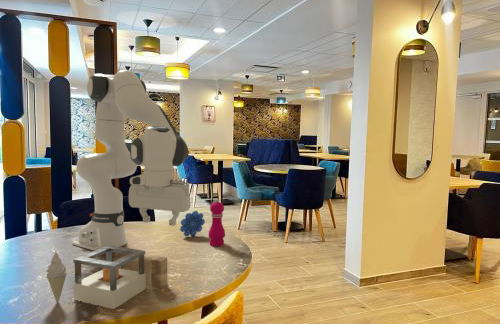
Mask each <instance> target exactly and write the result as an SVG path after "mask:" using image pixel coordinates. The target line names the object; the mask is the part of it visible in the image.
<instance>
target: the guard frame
mask: <svg viewBox="0 0 500 324" xmlns="http://www.w3.org/2000/svg"><path fill="white" fill-rule="evenodd" d="M113 253H116V254H120V255H121V254H123V255H124V256H122V257H120V258H119V259H116V260H113V257H112V254H113ZM102 255H105V260H102V259H96V258H98V257H100V256H102ZM145 255H146V250H142V249H138V248H137V249H136V248H130V247H123V246H120V247H117V246H110V245H108V246H105V247H103V248H100V249H98V250H92V251H91V252H88V253H86V254H83V255H81V256H78V257H76V258H73V259H72V260H73V264H74V283H77V284H79V283H81V282H82V279H83V278H82V265H83V266H89V267H95V268H101V269H103V268H105V269H110V290H111V291H115V290H116V289H117V275H116V268H118V267H119V268H120V267H122V266H124V265H126V264H128V263H130V262H132V261H134V260H136V259H138V272H139V274H144V273H145ZM112 260H113V261H112Z"/></svg>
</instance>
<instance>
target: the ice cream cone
mask: <svg viewBox="0 0 500 324" xmlns="http://www.w3.org/2000/svg"><path fill="white" fill-rule="evenodd" d="M45 272H46V278H47V280H48V283H49V286H50V288H51V291H52V294H53V297H54V300H55V302H59V303H60V300H61V297H62V296H61V295H62V292H63V289H64V284H65V281H66V278H67V274H68V273H67V267H66V265H65V264H64V263H63V262H62V259H61V258H60V256H59V255H58V252H57V250H55V252H54V254H53V257H52V259H51V261H50V264H49V265H48V266H47V269H46V271H45Z"/></svg>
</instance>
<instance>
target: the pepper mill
mask: <svg viewBox="0 0 500 324" xmlns="http://www.w3.org/2000/svg"><path fill="white" fill-rule="evenodd" d="M214 201H215V202H211V205H210V206H209V210H210V212H211V213H210V215H211V216H210V217H211V221H212V222H211V226H210V227H209V231H208V238H209V246H211V247H221V246H224V244H225V240H224V239H225V237H226V230H225V228H224V225H223V222H222V221H223V220H222V219H223V217H224V216H223V215H224V210H225V206H224V204H223V203H222V202H220V199H219V198H215V200H214Z"/></svg>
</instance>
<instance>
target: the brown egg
mask: <svg viewBox="0 0 500 324" xmlns="http://www.w3.org/2000/svg"><path fill="white" fill-rule="evenodd" d="M119 268H120V267H118V268H116V275H117V280H118V279H119ZM102 270H103V281H105V282H110V269H105V268H102Z"/></svg>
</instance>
